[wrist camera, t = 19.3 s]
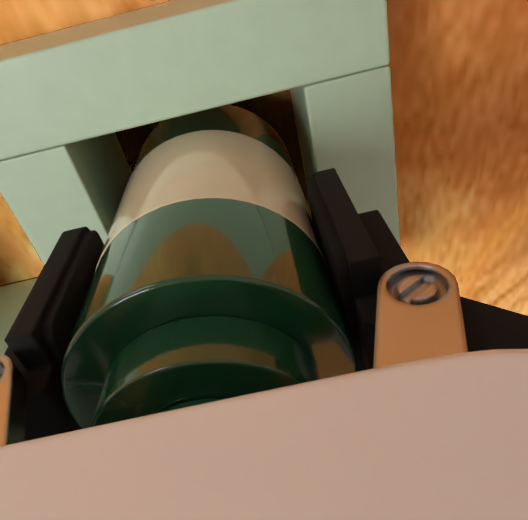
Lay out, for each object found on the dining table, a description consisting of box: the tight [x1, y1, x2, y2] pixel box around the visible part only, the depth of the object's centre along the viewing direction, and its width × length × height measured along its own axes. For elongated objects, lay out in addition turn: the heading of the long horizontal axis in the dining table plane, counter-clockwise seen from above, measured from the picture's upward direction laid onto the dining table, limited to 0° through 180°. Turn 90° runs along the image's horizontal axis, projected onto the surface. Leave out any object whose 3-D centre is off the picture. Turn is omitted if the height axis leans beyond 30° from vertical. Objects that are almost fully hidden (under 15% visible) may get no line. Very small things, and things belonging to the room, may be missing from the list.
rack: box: [0, 0, 400, 355], centre depth 15 cm, size 11×19×4 cm, turn 102°
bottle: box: [61, 105, 358, 429], centre depth 10 cm, size 5×5×13 cm
